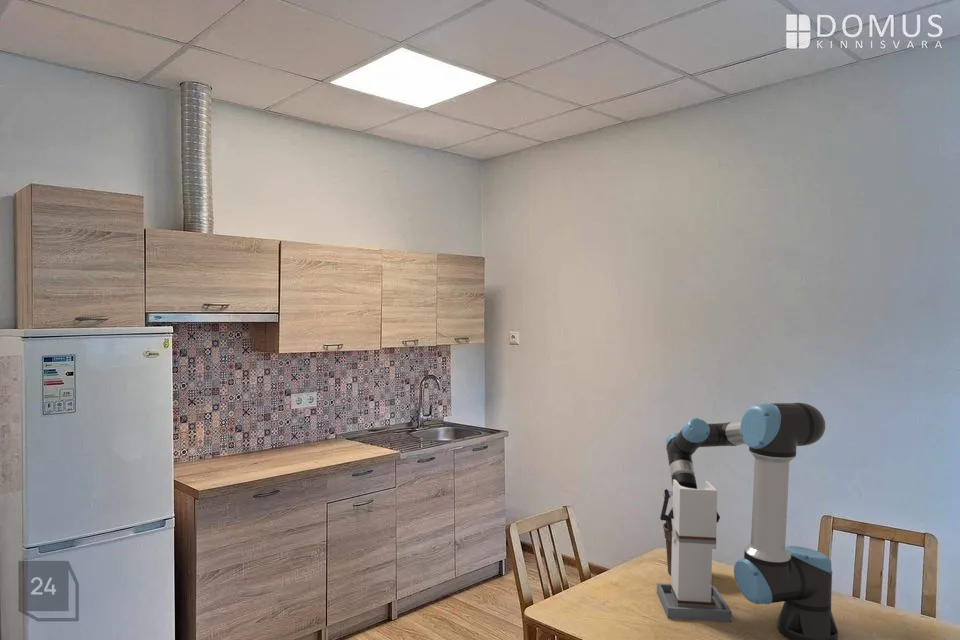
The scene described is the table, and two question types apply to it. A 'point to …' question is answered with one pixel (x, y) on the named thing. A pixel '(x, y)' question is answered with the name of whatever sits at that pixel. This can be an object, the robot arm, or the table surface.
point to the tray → (675, 612)
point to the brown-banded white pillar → (693, 545)
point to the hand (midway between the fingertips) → (693, 541)
